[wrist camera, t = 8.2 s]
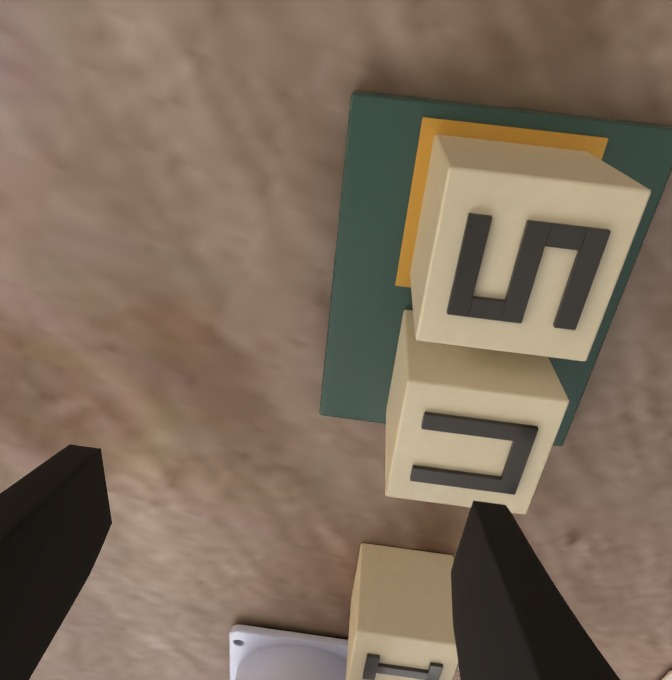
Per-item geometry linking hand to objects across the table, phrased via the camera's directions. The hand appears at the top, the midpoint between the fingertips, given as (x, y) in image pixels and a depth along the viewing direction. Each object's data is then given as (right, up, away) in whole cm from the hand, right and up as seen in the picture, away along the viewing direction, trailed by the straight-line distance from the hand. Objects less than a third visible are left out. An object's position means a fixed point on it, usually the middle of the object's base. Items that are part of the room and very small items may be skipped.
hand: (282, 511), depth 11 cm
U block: (+5, +2, +8) cm, 10 cm away
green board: (+5, +5, +7) cm, 10 cm away
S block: (+6, +7, +5) cm, 10 cm away
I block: (+4, -8, +15) cm, 17 cm away
